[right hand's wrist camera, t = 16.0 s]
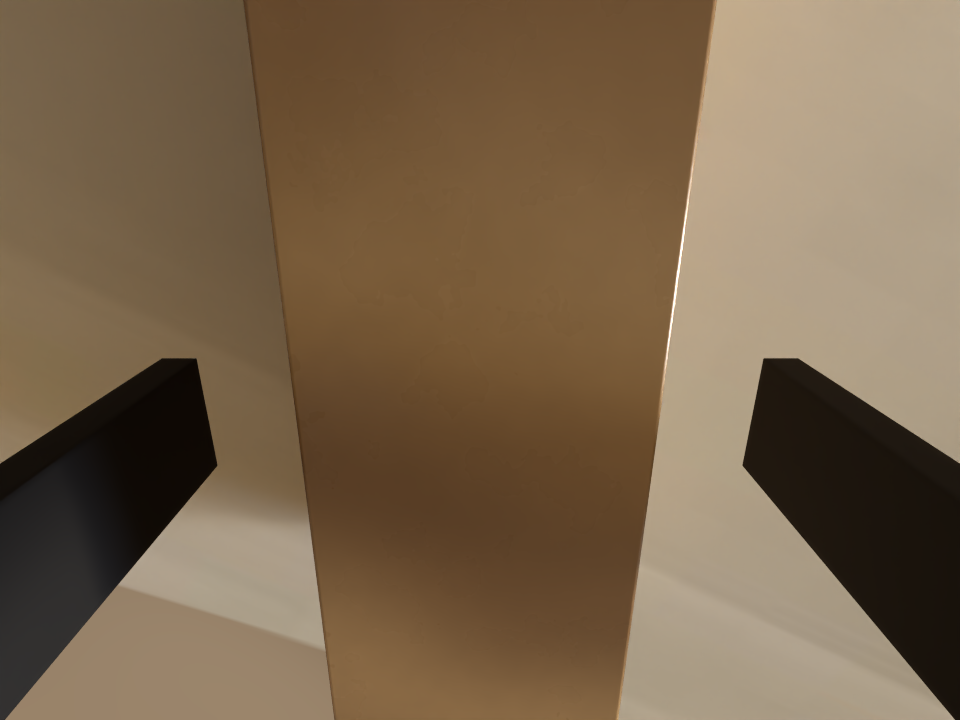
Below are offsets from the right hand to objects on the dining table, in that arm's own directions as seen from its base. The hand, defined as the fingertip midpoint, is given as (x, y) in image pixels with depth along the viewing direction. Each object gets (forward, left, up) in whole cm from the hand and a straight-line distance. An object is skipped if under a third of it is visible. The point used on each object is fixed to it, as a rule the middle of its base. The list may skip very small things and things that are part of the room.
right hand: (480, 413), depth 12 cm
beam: (-11, +20, -4) cm, 23 cm away
